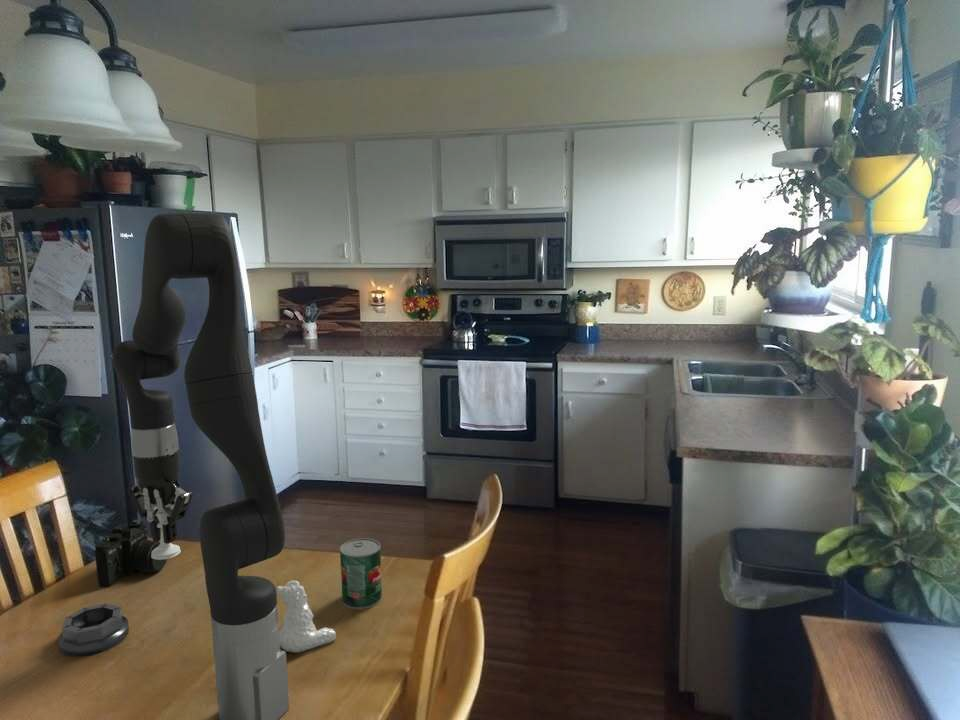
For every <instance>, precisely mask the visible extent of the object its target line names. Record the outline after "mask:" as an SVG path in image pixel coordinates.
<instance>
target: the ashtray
mask: <svg viewBox="0 0 960 720" xmlns="http://www.w3.org/2000/svg"><path fill="white" fill-rule="evenodd" d="M129 632H130V627H129V621H128V618H127V617H126V616H124V615H123V612H122V607H121V606H118V605H114V604H111V603H103V604H96V605H91V606H86V607H85V606H84V607H82V608H81V609H79V610H77V611H75V612H73V613H72V614H70V615H68V616H66V617H65V618H64V621H63V625H62V628H61V632H60V634H59V636H58V637H57V642H58V650H59V651H60V653H61V654H63V655H66V656H69V657H85V656H91V655H95V654H99V653H102V652H104V651H108V650H109V649H111V648H114V647H115V646H117V645H118V644H120V643H121V642H123V641H124V639H125V638H126V637H127V636H128V634H129Z"/></svg>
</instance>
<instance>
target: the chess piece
mask: <svg viewBox="0 0 960 720" xmlns="http://www.w3.org/2000/svg"><path fill="white" fill-rule="evenodd" d="M156 515H157V517H158V519H159V521H160V523H159V524H157V527H158V528H161V537H160V541H159V542H160V545H159V546H158V547H157V548H155V549H154V550H153V551H152V553H151V554H152V555H151V557H152V558H153V559H156V560H163V559H167V560H169V559H172V558H174V557H177V556H178V555H180V554H181V552H182V551H181V547H180V546H179V544H178V545H177V544H173V543H172V542H171V543H169V544H167V543H164V537H163V527H162V525H163V522H162V516H161V513H159V512H157V513H156Z"/></svg>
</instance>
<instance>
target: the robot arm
mask: <svg viewBox="0 0 960 720" xmlns="http://www.w3.org/2000/svg"><path fill="white" fill-rule="evenodd" d="M142 261H143V264H142V277H141V297H140V303H139V304H140V305H139V309H138V312H137V314H136V318H135V321H134V324H133V328H132V331H131V334H132V336H131V337H132V339H131V340H124V341H123V340H122V341H120V342H118V343H117V344H116V346H115V347H114V348H113V351H112V354H111V358H112V360H111V361H112V365H113V367H114V370H115V372H116V375H117V377H118V379H119V380H120V383H121V386H122V388H123V391H124V394H125V396H126V400H127V404H128V410H129V418H130V427H131V433H130V434H131V436H130V443H131V451H132V452H131V454H132V462H133V471H134V477H135V478H136V479H137V480H138V482H137V483H138V484H136V485H134V486H131V487H129V488H128V489H127V492H128V495H129V496H130V499H131V501H132V502H133V504H134V507H135V509H136V510H137V513H138V515H139V517H141V518H142V519H143V518H145V519H146V520H147V522H148V523H149V526H150V527H149V528H150V535H151V538H152V541H156V542H158V541H159V542H160V537H161V528H158V527H157V524H159V523H160V521H159V519H158V517H157V515H156V513H157V512H159V513H161V516H162V522H163V525H162V527H163V537H164V543H167V544H169V543H172V542H175V541H176V540H177V538H178V530H177V522H179V521H180V520H183V519H184V518H185V517H186V515H187V513H188V511H189V507H190V504H191V502H192V499H193V495H194V494H193V492H192V491H191V490H188V491H185V490H184V489H183V488H181V483H180V481H179V479H178V477H179V475H180V472H181V471H182V470H181V469H182V468H181V460H180V459H181V457H180V448H179V447H180V446H179V436H178V431H177V427H176V423H175V422H176V421H175V419H176V418H175V412H174V411H175V410H174V402H173V401H174V399H173V396H172V394H171V393H170V392H168V391H165V390H157V389H148V388H147V389H146V388H144V387H143V385H142V383H141V380H149V379H159V378H165V377H169V376H171V375H173V374H174V373H176V372H177V370H179V367H180V363H181V358H180V357H181V356H180V352H179V338H180V336H181V334H182V332H183V329H184V325H185V322H186V315H187V314H186V308H185V305H184V303H183V301H182V300H183V299H181V298H180V296H179V295H178V294H177V292H176V291H175V289H174V288H173V287H172V286H171V284H170V280H172V279H177V280H178V279H179V280H182V279H183V280H184V279H203V278H207V282H208V283H207V284H208V291H209V292H208V293H209V295H208V296H209V297H208V307H207V311H206V315H205V318H204V322H203V323H202V326H201V328H200V330H199V332H198V334H197V336H196V339H195V340H194V343H193V345H192V347H191V349H190V352H189V353H188V354H189V355H188V356H187V359H186V362H185V364H184V365H185V366H184V372H183V374H184V375H183V377H184V384H185V389H186V395H187V401H188V406H189V412H190V415H191V418H192V420H193V422H194V423H195V425H196V426H197V427H198V429H199V430H200V431H201V432H202V434H203V435H205V436H206V438H207V439H209V441H211V443H212V444H213V445H215V446H216V447H217V449H218V450H219V451H220V452H221V453H222V454H223V455H224V456H225V457H226V458H227V459H228V461H229V462H230V464H231V465H232V466H233V467H234V469H235V470H236V473H237V475H238V477H239V480H240V482H241V485H242V488H243V492H244V497H245V499H242V500H239V501H235V502H233V503H232V502H231V503H228V504H225V505H221V506H218V507H214V508H211V509H208V510H207V511H205V512H204V513H203V514H202V516H201V517H200V521H199V522H200V523H199V528H198V529H199V543H200V548H201V549H200V551H201V555H202V563H203V570H204V578H205V588H206V594H207V598H208V599H207V600H208V604H209V610H210V611H209V612H210V621H211V622H210V624H211V635H212V636H211V637H212V647H213V660H214V661H213V662H214V672H215V684H216V695H217V698H216V699H217V707H218V719H219V720H279V719H280V718H281V717H282V716H283V715H284V714H285V713H286V712H287V711H288V710H289V709H290V699H289V698H290V695H289V681H288V666H287V653H286V652H287V651H285V650H281V646H280V642H279V632H280V629H279V617H278V616H279V613H278V612H279V611H278V610H279V609H278V593H277V587H276V586H275V584H274V583H273V582H272V581H271V580H270V579H267V578H264V577H261V576H256V575H239V570H242V569H244V568H247V567H249V566H253V565H255V564H258V563H261V562H263V561H267V560H270V559H272V558H274V557H277V556H278V555H280V554H281V553H282V551H283V548H284V547H285V538H286V533H285V532H286V531H285V523H284V519H283V514H282V508H281V505H280V501H279V497H278V493H277V490H276V486H275V483H274V479H273V476H272V471H271V468H270V463H269V460H268V456H267V451H266V446H265V445H266V444H265V440H264V435H263V429H262V423H261V417H260V409H259V403H258V395H257V390H256V385H255V378H254V373H253V368H252V364H251V359H250V354H249V350H248V349H249V348H248V344H247V340H246V335H245V334H246V333H245V329H244V328H245V327H244V322H243V321H244V320H243V315H242V308H241V299H240V288H239V278H238V267H237V258H236V247H235V241H234V237H233V233H232V230H231V227H230V225H229V223H228V221H227V220H226V219H225V217H223V216H222V215H220V214H216V213H197V212H196V213H195V212H194V213H191V212H190V213H189V212H186V213H185V212H183V213H182V212H179V213H177V212H176V213H175V212H174V213H173V212H172V213H170V212H169V213H159V214H157V215H155V216H154V217H153V218H152V219H151V220H150V222H149V224H148V227H147V230H146V234H145V239H144V251H143V260H142ZM169 514H170V515H169Z"/></svg>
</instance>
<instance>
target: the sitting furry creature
mask: <svg viewBox="0 0 960 720" xmlns="http://www.w3.org/2000/svg"><path fill="white" fill-rule="evenodd" d="M276 594H277V596H280V600H281V601H283V604H284V605H285V606H287V608H286V610H285V611H284V614H283V616H282V618H283V623H282V624H281V627H280V629H279V642H280V649H283V651H285V652H289V653H292V654H298V653H299V654H300V653H301V652H303V653H304V652H305V651H307V650H311V649H314V648H317V647H320V646H323V645H327V644H330V643H333V642H334V640H336V638H337V634H336V631H335V630H334V628H329V627H322V628H320V629H318V630H317V628H316V625H315V624H314V622H313V619H314V614H313V613H312V610H311V609H310V606H309V604H308V595H307V594H306V591H305V589H304V585H300V582H299V581H297V580H293V579H292V580H290V581H287V583H285V585H284V586H282V585H279V586H276Z"/></svg>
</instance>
